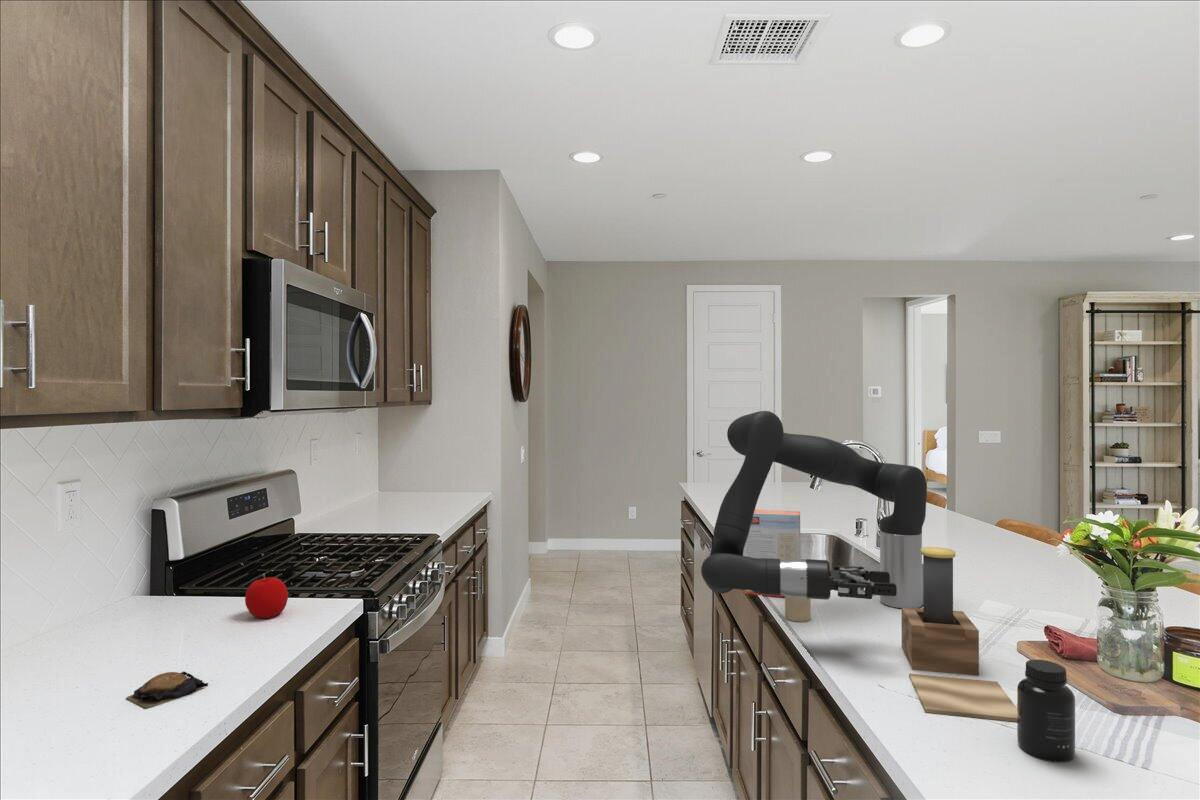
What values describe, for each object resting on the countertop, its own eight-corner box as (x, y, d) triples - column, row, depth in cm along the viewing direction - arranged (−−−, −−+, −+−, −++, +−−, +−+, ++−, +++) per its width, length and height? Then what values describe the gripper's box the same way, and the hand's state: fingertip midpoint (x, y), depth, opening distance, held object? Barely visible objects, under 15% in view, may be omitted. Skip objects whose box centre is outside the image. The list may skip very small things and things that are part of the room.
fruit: (238, 616, 156) (238, 572, 156) (279, 607, 163) (278, 565, 163) (254, 625, 150) (253, 580, 150) (295, 615, 157) (295, 572, 156)
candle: (811, 623, 149) (811, 577, 149) (785, 621, 150) (785, 576, 150) (809, 615, 155) (809, 571, 155) (784, 613, 156) (784, 570, 156)
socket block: (901, 647, 134) (901, 607, 134) (962, 652, 132) (962, 611, 132) (911, 669, 124) (911, 625, 124) (978, 675, 121) (978, 630, 121)
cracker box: (801, 593, 172) (801, 510, 172) (800, 599, 166) (799, 514, 166) (745, 588, 177) (744, 507, 176) (742, 594, 171) (741, 511, 171)
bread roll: (145, 714, 109) (145, 691, 109) (122, 701, 114) (122, 679, 114) (213, 690, 118) (213, 668, 118) (189, 678, 123) (189, 658, 123)
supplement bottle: (1006, 739, 99) (1005, 656, 98) (1050, 737, 99) (1050, 655, 99) (1040, 765, 92) (1040, 676, 92) (1087, 762, 92) (1087, 674, 92)
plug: (937, 622, 131) (937, 545, 131) (962, 631, 126) (962, 552, 126) (914, 625, 129) (913, 548, 129) (938, 635, 124) (938, 554, 124)
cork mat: (908, 676, 120) (908, 673, 120) (997, 685, 117) (997, 681, 117) (925, 712, 107) (925, 708, 107) (1025, 722, 103) (1025, 719, 103)
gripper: (805, 568, 127) (898, 573, 123) (803, 551, 141) (887, 555, 137) (805, 608, 127) (899, 615, 123) (803, 587, 141) (887, 592, 137)
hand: (892, 583), depth 130 cm, fingers open, 8 cm apart
